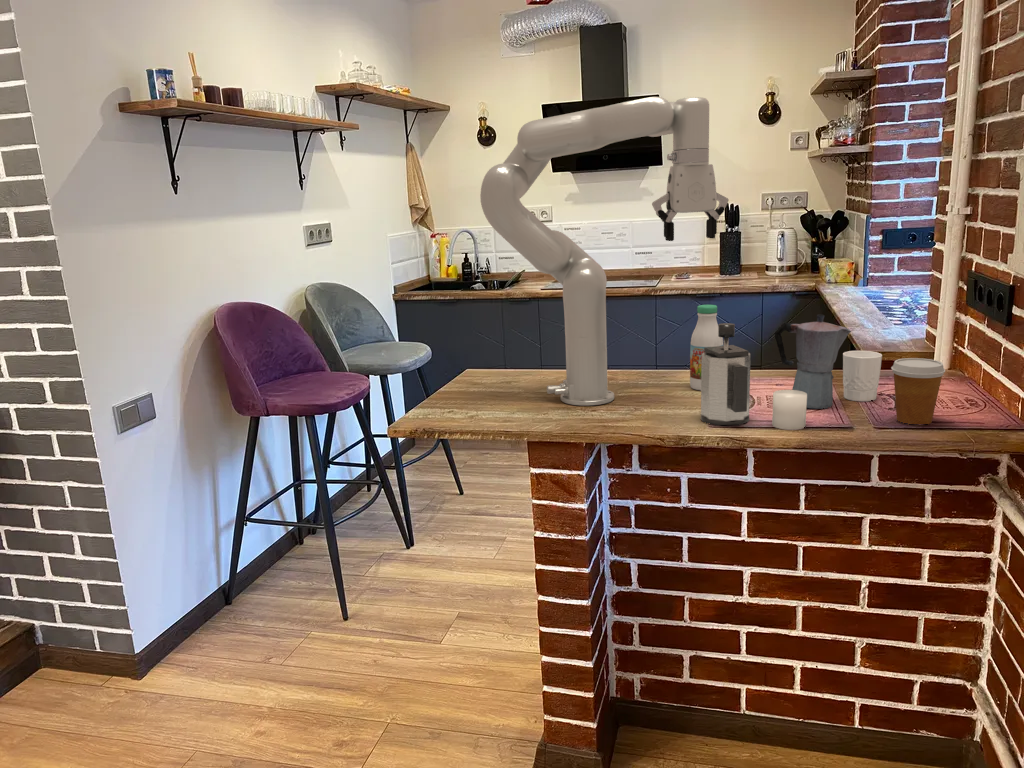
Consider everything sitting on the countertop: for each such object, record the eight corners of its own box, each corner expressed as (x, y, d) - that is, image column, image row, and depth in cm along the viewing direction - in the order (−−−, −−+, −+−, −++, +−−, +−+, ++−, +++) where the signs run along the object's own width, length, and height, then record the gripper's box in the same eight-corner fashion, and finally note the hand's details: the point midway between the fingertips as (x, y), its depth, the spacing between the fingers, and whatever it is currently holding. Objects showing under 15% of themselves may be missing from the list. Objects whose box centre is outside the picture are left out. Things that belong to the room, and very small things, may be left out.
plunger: (717, 395, 161) (718, 328, 158) (702, 388, 168) (703, 323, 165) (748, 392, 163) (750, 325, 159) (732, 385, 169) (734, 320, 166)
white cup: (873, 393, 181) (876, 350, 179) (883, 402, 174) (886, 357, 171) (837, 393, 183) (839, 350, 180) (845, 402, 175) (847, 358, 173)
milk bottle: (688, 383, 197) (689, 303, 193) (720, 383, 196) (722, 302, 192) (691, 391, 190) (691, 308, 185) (724, 391, 189) (726, 307, 184)
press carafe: (718, 431, 159) (719, 357, 156) (693, 415, 171) (693, 346, 167) (763, 426, 161) (765, 353, 158) (735, 411, 172) (736, 342, 169)
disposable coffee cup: (878, 421, 161) (882, 363, 158) (902, 411, 166) (906, 355, 163) (926, 431, 153) (931, 370, 151) (949, 420, 159) (955, 362, 156)
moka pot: (851, 410, 169) (856, 317, 164) (775, 410, 172) (778, 318, 167) (842, 399, 178) (847, 310, 173) (770, 398, 181) (773, 311, 176)
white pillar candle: (782, 431, 157) (783, 399, 156) (766, 422, 164) (767, 391, 162) (812, 428, 159) (813, 395, 157) (794, 419, 165) (795, 388, 163)
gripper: (659, 159, 166) (659, 242, 170) (736, 156, 169) (734, 238, 173) (646, 161, 173) (646, 240, 177) (720, 158, 176) (719, 236, 181)
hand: (690, 239), depth 175 cm, fingers open, 9 cm apart
